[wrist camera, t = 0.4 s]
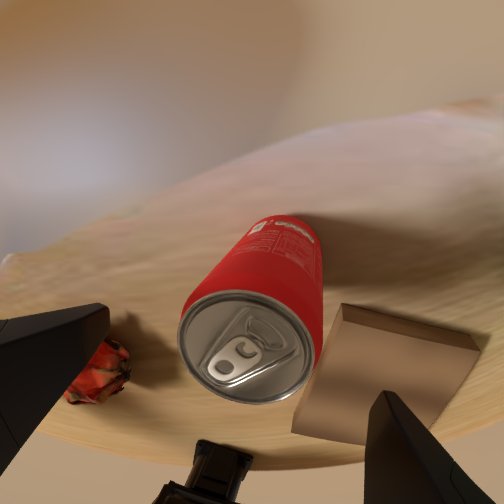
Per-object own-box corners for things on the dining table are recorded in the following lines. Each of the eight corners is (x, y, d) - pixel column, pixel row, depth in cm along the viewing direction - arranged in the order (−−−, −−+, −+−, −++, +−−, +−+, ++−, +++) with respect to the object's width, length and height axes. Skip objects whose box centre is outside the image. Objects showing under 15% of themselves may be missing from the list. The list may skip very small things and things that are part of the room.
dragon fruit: (66, 324, 31) (154, 327, 30) (66, 395, 28) (156, 409, 27) (16, 310, 23) (112, 314, 22) (15, 397, 20) (114, 422, 19)
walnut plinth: (406, 431, 24) (409, 449, 21) (293, 412, 25) (290, 432, 23) (470, 335, 20) (481, 352, 17) (341, 303, 21) (343, 320, 19)
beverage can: (337, 250, 20) (355, 359, 9) (284, 298, 22) (249, 426, 11) (281, 195, 20) (233, 248, 9) (231, 249, 22) (145, 343, 11)
